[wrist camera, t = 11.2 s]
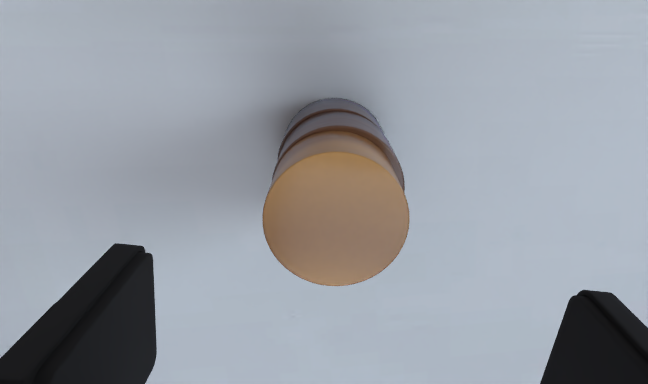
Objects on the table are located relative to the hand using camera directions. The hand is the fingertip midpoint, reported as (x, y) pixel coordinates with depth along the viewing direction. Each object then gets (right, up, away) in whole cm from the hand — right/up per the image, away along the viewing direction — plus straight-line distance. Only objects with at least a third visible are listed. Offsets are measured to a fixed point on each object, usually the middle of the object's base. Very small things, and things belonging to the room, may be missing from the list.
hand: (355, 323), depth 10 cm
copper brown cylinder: (0, +3, +9) cm, 9 cm away
